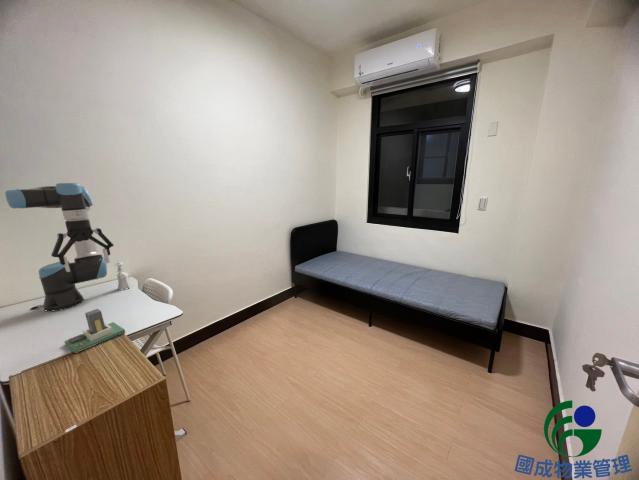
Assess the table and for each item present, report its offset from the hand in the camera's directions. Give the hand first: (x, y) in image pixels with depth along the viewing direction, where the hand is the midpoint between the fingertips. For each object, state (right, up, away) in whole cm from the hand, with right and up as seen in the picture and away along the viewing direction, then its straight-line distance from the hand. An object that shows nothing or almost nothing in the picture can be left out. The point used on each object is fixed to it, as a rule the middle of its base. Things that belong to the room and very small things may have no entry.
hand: (88, 266), depth 111 cm
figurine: (-18, -18, +44) cm, 51 cm away
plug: (+11, -27, -8) cm, 30 cm away
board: (+11, -29, -8) cm, 32 cm away
